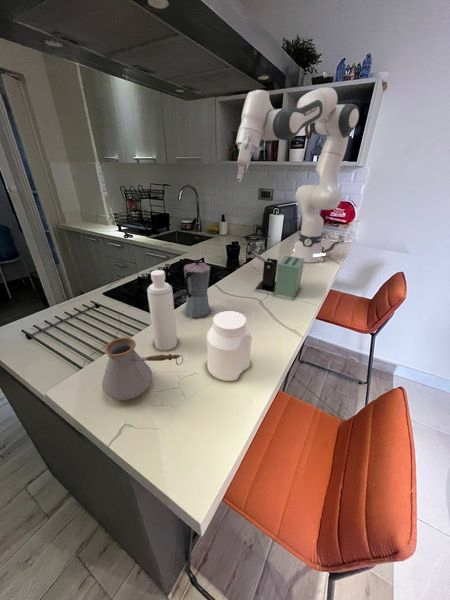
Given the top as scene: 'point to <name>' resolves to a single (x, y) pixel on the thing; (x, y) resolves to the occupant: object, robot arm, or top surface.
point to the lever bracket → (269, 276)
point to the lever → (257, 255)
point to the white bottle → (162, 311)
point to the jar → (228, 346)
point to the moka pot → (197, 288)
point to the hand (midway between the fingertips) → (239, 180)
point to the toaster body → (289, 276)
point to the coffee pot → (128, 370)
